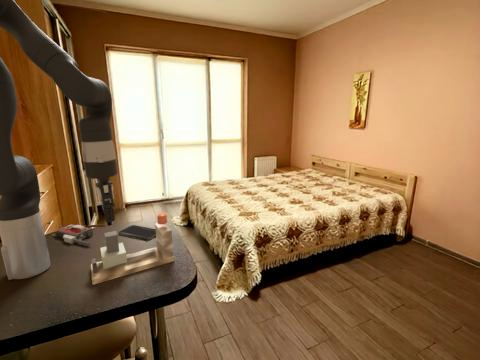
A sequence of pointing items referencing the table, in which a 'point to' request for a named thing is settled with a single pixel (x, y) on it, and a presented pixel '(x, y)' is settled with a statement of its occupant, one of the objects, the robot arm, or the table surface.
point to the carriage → (113, 251)
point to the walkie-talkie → (74, 233)
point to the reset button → (162, 218)
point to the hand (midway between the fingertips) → (108, 216)
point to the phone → (138, 232)
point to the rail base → (129, 267)
